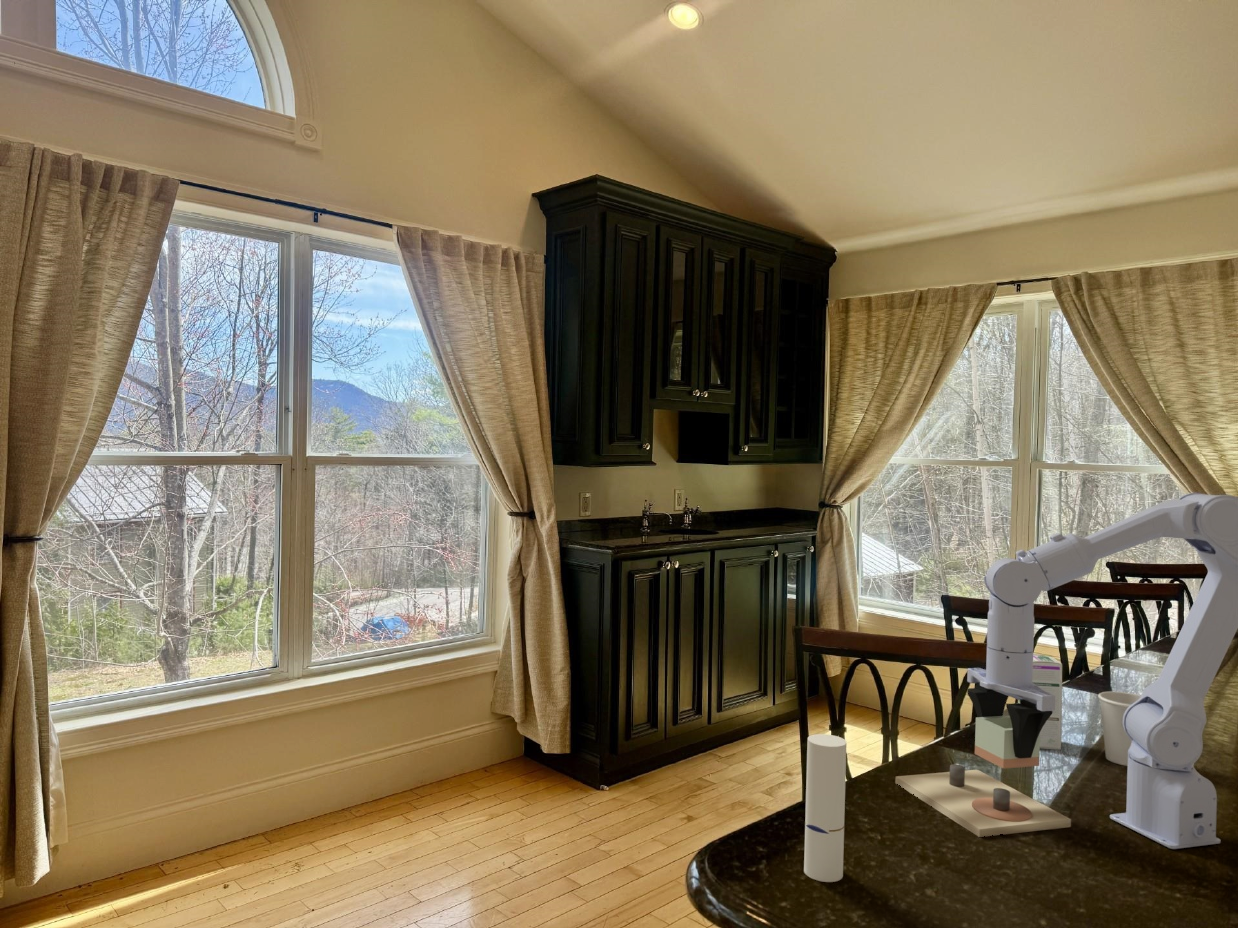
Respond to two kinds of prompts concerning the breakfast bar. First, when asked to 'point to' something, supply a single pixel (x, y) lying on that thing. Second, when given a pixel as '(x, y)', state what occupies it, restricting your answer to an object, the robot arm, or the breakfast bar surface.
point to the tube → (825, 807)
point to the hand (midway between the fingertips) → (1006, 749)
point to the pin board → (981, 802)
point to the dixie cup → (1116, 724)
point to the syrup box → (1050, 680)
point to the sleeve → (1000, 743)
